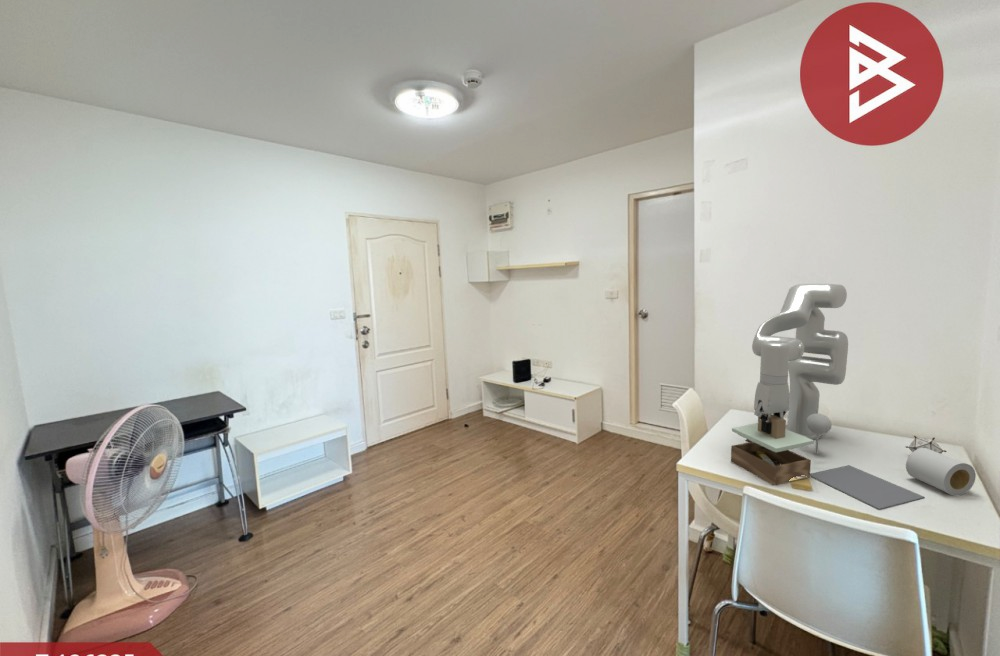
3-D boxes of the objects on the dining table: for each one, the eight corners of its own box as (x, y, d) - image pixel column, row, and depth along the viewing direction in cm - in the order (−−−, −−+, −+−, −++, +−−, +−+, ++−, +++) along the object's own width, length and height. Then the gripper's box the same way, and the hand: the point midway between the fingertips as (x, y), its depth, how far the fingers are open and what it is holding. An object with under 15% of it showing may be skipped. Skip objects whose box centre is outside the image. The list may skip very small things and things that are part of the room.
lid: (766, 427, 143) (766, 405, 142) (813, 446, 127) (815, 422, 125) (731, 433, 139) (732, 411, 138) (776, 455, 123) (777, 430, 122)
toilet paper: (973, 494, 116) (977, 461, 114) (942, 497, 115) (946, 464, 113) (933, 476, 126) (936, 446, 124) (904, 479, 125) (907, 449, 123)
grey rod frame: (925, 468, 137) (943, 445, 136) (939, 471, 130) (958, 446, 129) (894, 451, 141) (912, 428, 141) (906, 452, 134) (925, 428, 133)
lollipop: (824, 450, 145) (827, 411, 143) (832, 459, 139) (836, 418, 137) (800, 448, 148) (803, 409, 146) (808, 457, 141) (811, 416, 139)
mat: (848, 466, 134) (848, 465, 134) (924, 498, 115) (924, 496, 115) (807, 475, 129) (807, 474, 129) (879, 510, 110) (879, 508, 110)
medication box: (776, 479, 128) (777, 467, 128) (766, 478, 129) (767, 466, 129) (763, 461, 140) (764, 451, 139) (754, 460, 141) (755, 450, 140)
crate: (763, 455, 144) (764, 439, 143) (809, 477, 128) (810, 460, 127) (730, 461, 140) (731, 445, 140) (773, 485, 124) (774, 467, 124)
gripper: (782, 372, 135) (780, 423, 138) (743, 379, 131) (741, 431, 134) (804, 378, 128) (801, 431, 131) (763, 385, 124) (761, 440, 127)
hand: (771, 431), depth 133 cm, fingers closed on lid, 3 cm apart
